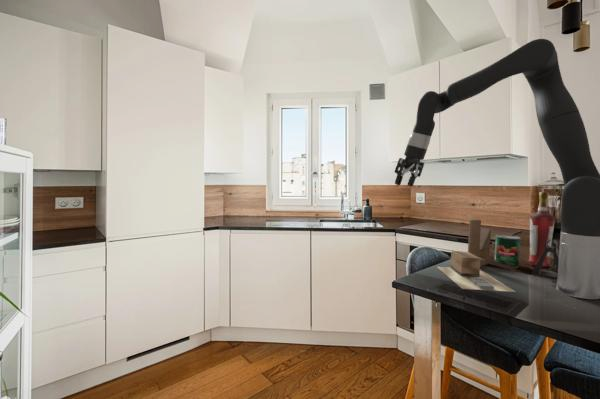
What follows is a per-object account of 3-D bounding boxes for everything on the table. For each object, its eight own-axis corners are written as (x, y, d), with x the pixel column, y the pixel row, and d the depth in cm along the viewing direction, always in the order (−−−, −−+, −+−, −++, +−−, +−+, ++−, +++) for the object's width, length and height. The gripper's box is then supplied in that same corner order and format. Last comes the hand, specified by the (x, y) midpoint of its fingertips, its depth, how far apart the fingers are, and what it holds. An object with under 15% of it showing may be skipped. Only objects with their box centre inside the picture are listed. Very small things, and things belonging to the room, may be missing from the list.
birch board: (478, 272, 105) (479, 268, 105) (515, 296, 84) (515, 291, 84) (436, 270, 107) (436, 266, 107) (462, 292, 85) (462, 288, 85)
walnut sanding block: (467, 269, 105) (468, 251, 105) (479, 277, 96) (480, 258, 96) (450, 268, 106) (451, 251, 105) (461, 276, 97) (461, 257, 96)
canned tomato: (511, 262, 119) (513, 235, 118) (523, 268, 111) (525, 238, 110) (490, 261, 120) (491, 234, 119) (500, 267, 112) (501, 237, 112)
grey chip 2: (488, 285, 88) (488, 282, 88) (493, 289, 85) (493, 286, 85) (475, 284, 89) (475, 282, 89) (480, 288, 86) (480, 285, 86)
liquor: (525, 262, 120) (529, 191, 118) (548, 265, 117) (553, 192, 115) (528, 266, 114) (533, 192, 112) (553, 269, 110) (559, 192, 108)
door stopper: (531, 274, 105) (533, 239, 104) (533, 270, 109) (536, 237, 108) (566, 280, 98) (568, 243, 98) (567, 276, 103) (569, 241, 102)
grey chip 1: (482, 281, 92) (482, 279, 92) (487, 285, 89) (487, 282, 89) (470, 281, 92) (470, 278, 92) (474, 284, 89) (475, 281, 89)
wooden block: (489, 266, 113) (491, 218, 112) (475, 271, 107) (478, 220, 105) (478, 264, 116) (481, 217, 115) (464, 268, 109) (467, 219, 108)
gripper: (415, 145, 111) (400, 187, 115) (435, 150, 119) (421, 189, 124) (398, 141, 116) (385, 181, 121) (419, 146, 125) (406, 183, 130)
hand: (403, 185), depth 122 cm, fingers open, 8 cm apart
